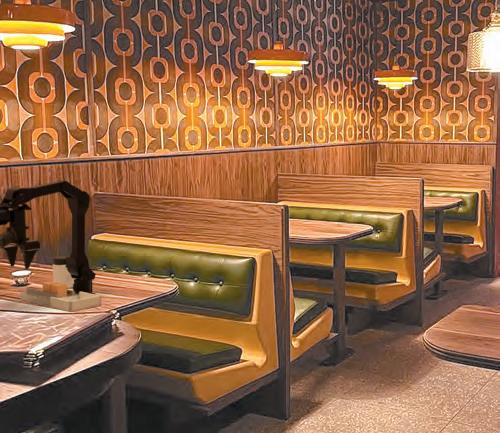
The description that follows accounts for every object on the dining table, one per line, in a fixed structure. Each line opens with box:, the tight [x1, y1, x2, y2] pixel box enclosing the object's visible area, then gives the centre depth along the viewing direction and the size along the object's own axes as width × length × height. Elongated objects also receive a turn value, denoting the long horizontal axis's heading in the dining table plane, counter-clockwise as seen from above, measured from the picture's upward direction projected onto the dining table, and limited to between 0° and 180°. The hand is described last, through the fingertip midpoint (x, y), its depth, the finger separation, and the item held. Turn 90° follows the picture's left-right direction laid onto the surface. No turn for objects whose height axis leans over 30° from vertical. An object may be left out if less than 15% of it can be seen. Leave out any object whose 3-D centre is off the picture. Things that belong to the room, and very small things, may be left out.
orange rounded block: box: [42, 281, 58, 292], centre depth 258 cm, size 4×4×4 cm
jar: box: [52, 255, 74, 289], centre depth 284 cm, size 9×8×12 cm
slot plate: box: [20, 287, 79, 308], centre depth 258 cm, size 13×19×4 cm
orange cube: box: [51, 283, 68, 297], centre depth 254 cm, size 4×4×4 cm
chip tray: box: [49, 292, 102, 313], centre depth 248 cm, size 13×12×4 cm
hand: (19, 267), depth 248 cm, fingers open, 9 cm apart
